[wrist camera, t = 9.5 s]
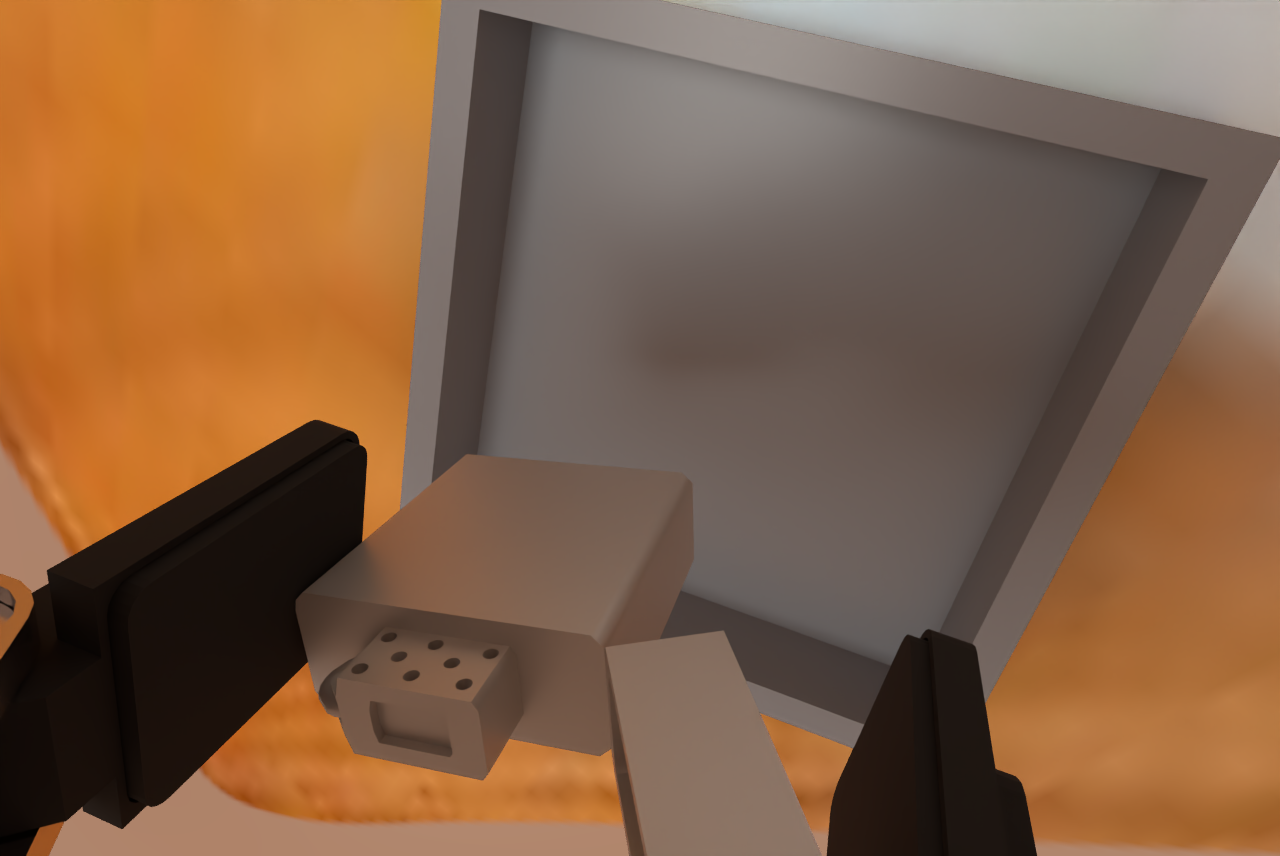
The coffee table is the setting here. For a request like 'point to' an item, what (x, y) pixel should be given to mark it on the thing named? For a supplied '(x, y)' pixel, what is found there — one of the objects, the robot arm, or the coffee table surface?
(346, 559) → the lighter
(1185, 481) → the coffee table surface
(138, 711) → the robot arm
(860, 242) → the tray
